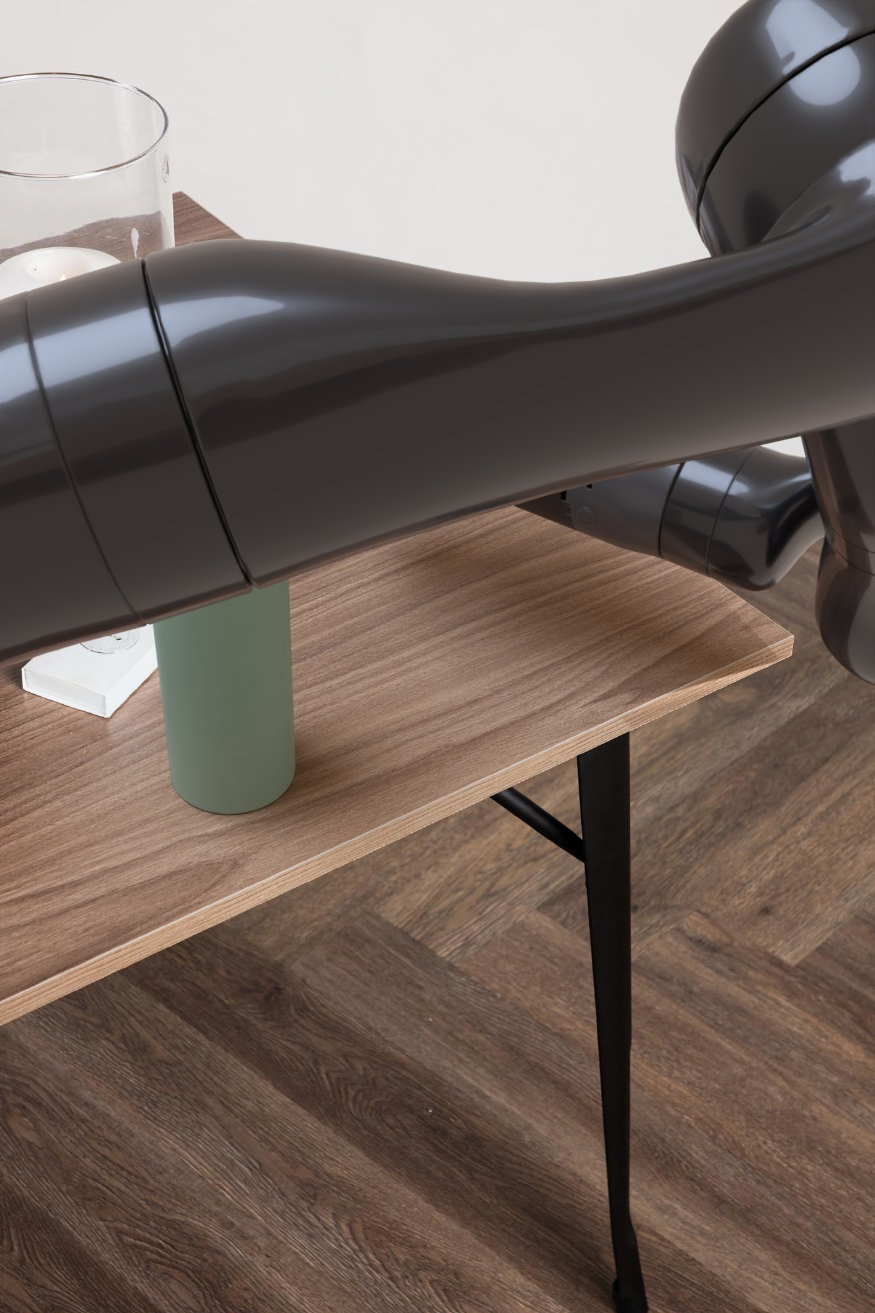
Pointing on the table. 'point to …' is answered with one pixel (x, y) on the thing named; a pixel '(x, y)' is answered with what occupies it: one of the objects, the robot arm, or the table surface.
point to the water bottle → (229, 701)
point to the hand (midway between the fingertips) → (347, 369)
